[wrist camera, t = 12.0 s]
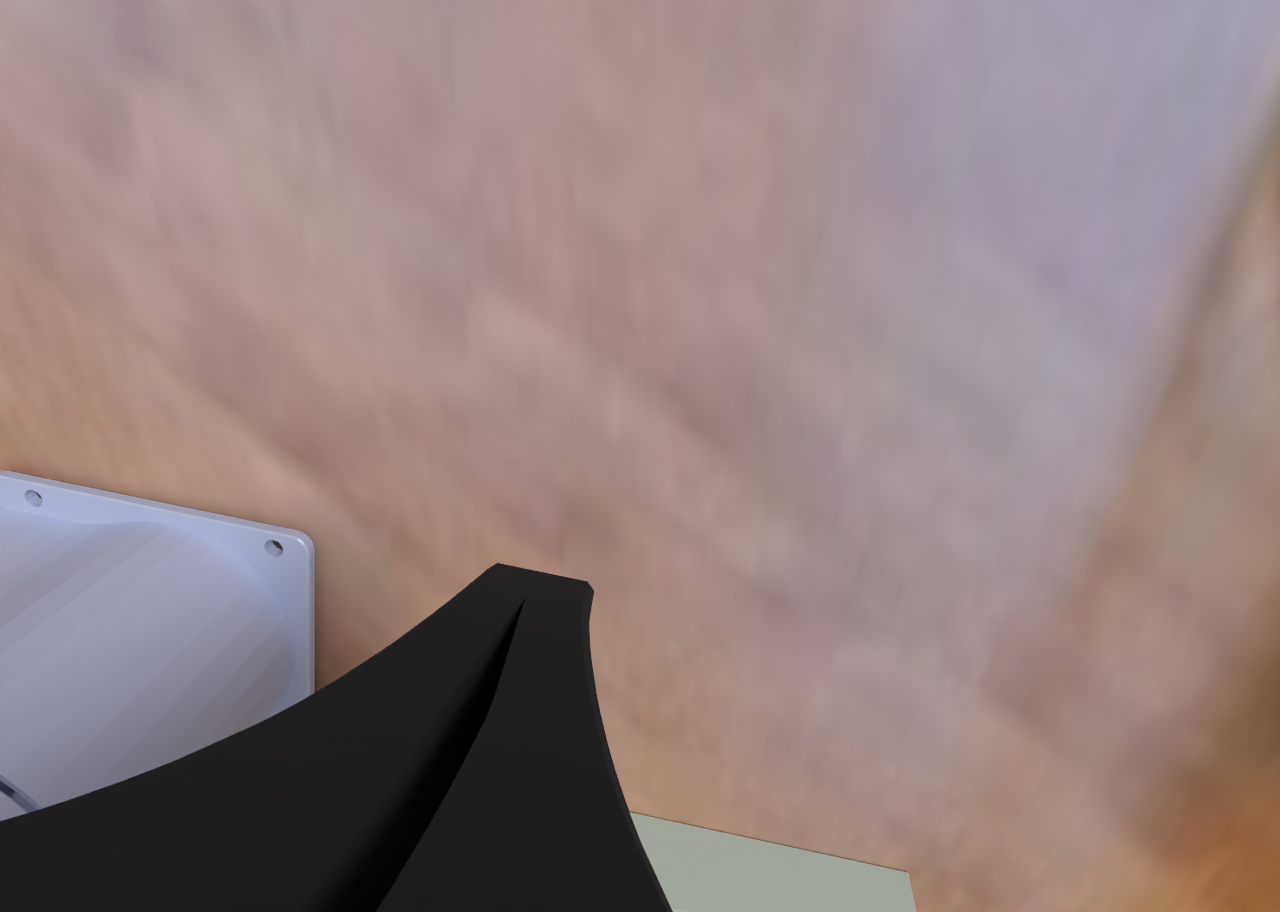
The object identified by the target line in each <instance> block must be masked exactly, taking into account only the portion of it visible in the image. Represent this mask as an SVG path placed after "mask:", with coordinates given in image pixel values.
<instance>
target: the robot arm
mask: <svg viewBox="0 0 1280 912" xmlns="http://www.w3.org/2000/svg"><path fill="white" fill-rule="evenodd" d="M36 492H37V493H38V494H39V495H40V496H41V498H42V499H41V498H40V497H39V496H38V495H37V493H36ZM272 540H275V541H277V542H279V543H280V544H281V545H282V548H283V549H279V548H277V547H276V546H275V545H274V544H273V541H272ZM593 594H594V590H593V589H592V587H591V586H590V585H589V583H588V582H587V581H582V580H577V579H572V578H568V577H563V576H558V575H553V574H548V573H543V572H538V571H534V570H529V569H524V568H519V567H514V566H509V565H504V564H499V563H497V564H495V565H494V566H492V567H490V568H489V569H487V570H486V571H485V572H484V573H482V574H481V575H480V576H479V577H478V578H476V579H475V580H474V581H473V582H472V583H470V584H469V585H468V586H467V587H466V588H464V589H463V590H462V591H461V592H459V593H458V594H457V595H456V596H454V597H453V598H452V599H451V600H449V601H448V602H447V603H446V604H444V605H443V606H442V607H441V608H439V609H438V610H437V611H435V612H434V613H433V614H431V615H430V616H429V617H427V618H426V619H425V620H423V621H422V622H421V623H419V624H418V625H417V626H415V627H414V628H413V629H411V630H410V631H408V632H407V633H406V634H404V635H403V636H402V637H400V638H399V639H398V640H396V641H395V642H393V643H392V644H391V645H389V646H388V647H386V648H385V649H383V650H382V651H380V652H379V653H377V654H376V655H374V656H373V657H371V658H369V659H368V660H366V661H365V662H363V663H362V664H360V665H359V666H357V667H356V668H354V669H353V670H351V671H350V672H348V673H347V674H345V675H344V676H342V677H340V678H339V679H337V680H336V681H334V682H332V683H331V684H329V685H327V686H326V687H324V688H322V689H320V690H319V691H317V692H315V549H314V544H313V542H312V540H311V539H310V537H308V536H307V535H306V534H305V533H303V532H300V531H298V530H293V529H288V528H284V527H279V526H274V525H269V524H264V523H259V522H254V521H250V520H245V519H240V518H235V517H230V516H225V515H220V514H216V513H211V512H206V511H201V510H196V509H191V508H186V507H182V506H177V505H172V504H167V503H162V502H157V501H152V500H148V499H143V498H138V497H133V496H128V495H123V494H118V493H114V492H109V491H104V490H99V489H94V488H89V487H85V486H80V485H75V484H70V483H65V482H60V481H55V480H51V479H46V478H41V477H36V476H31V475H26V474H21V473H17V472H12V471H6V470H0V912H673V911H672V909H671V907H670V904H669V902H668V900H667V898H666V896H665V893H664V891H663V889H662V887H661V885H660V883H659V880H658V878H657V876H656V874H655V872H654V869H653V867H652V865H651V863H650V861H649V858H648V856H647V854H646V852H645V850H644V848H643V845H642V843H641V841H640V838H639V836H638V833H637V830H636V828H635V825H634V823H633V820H632V817H631V815H630V812H629V809H628V807H627V804H626V801H625V798H624V795H623V792H622V789H621V786H620V783H619V780H618V777H617V774H616V771H615V768H614V764H613V761H612V758H611V754H610V750H609V747H608V743H607V739H606V735H605V731H604V726H603V722H602V718H601V714H600V709H599V704H598V699H597V694H596V687H595V681H594V674H593V667H592V660H591V651H590V634H589V618H590V612H591V606H592V600H593Z"/></svg>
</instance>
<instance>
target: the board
mask: <svg viewBox="0 0 1280 912" xmlns="http://www.w3.org/2000/svg"><path fill="white" fill-rule="evenodd" d="M630 815H631V817H632V820H633V823H634V825H635V828H636V830H637V833H638V836H639V838H640V841H641V843H642V845H643V848H644V850H645V852H646V854H647V856H648V858H649V861H650V863H651V865H652V867H653V869H654V872H655V874H656V876H657V878H658V880H659V883H660V885H661V887H662V889H663V891H664V893H665V896H666V898H667V900H668V902H669V904H670V907H671V909H672V911H673V912H916V909H915V904H914V899H913V894H912V889H911V884H910V879H909V875H908V872H904V871H899V870H894V869H890V868H885V867H881V866H876V865H871V864H867V863H862V862H857V861H853V860H848V859H844V858H839V857H834V856H830V855H825V854H821V853H816V852H811V851H807V850H802V849H797V848H793V847H788V846H784V845H779V844H774V843H770V842H765V841H761V840H756V839H751V838H747V837H742V836H737V835H733V834H728V833H724V832H719V831H714V830H710V829H705V828H700V827H696V826H691V825H687V824H682V823H677V822H673V821H668V820H664V819H659V818H654V817H650V816H645V815H640V814H636V813H631V812H630Z"/></svg>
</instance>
